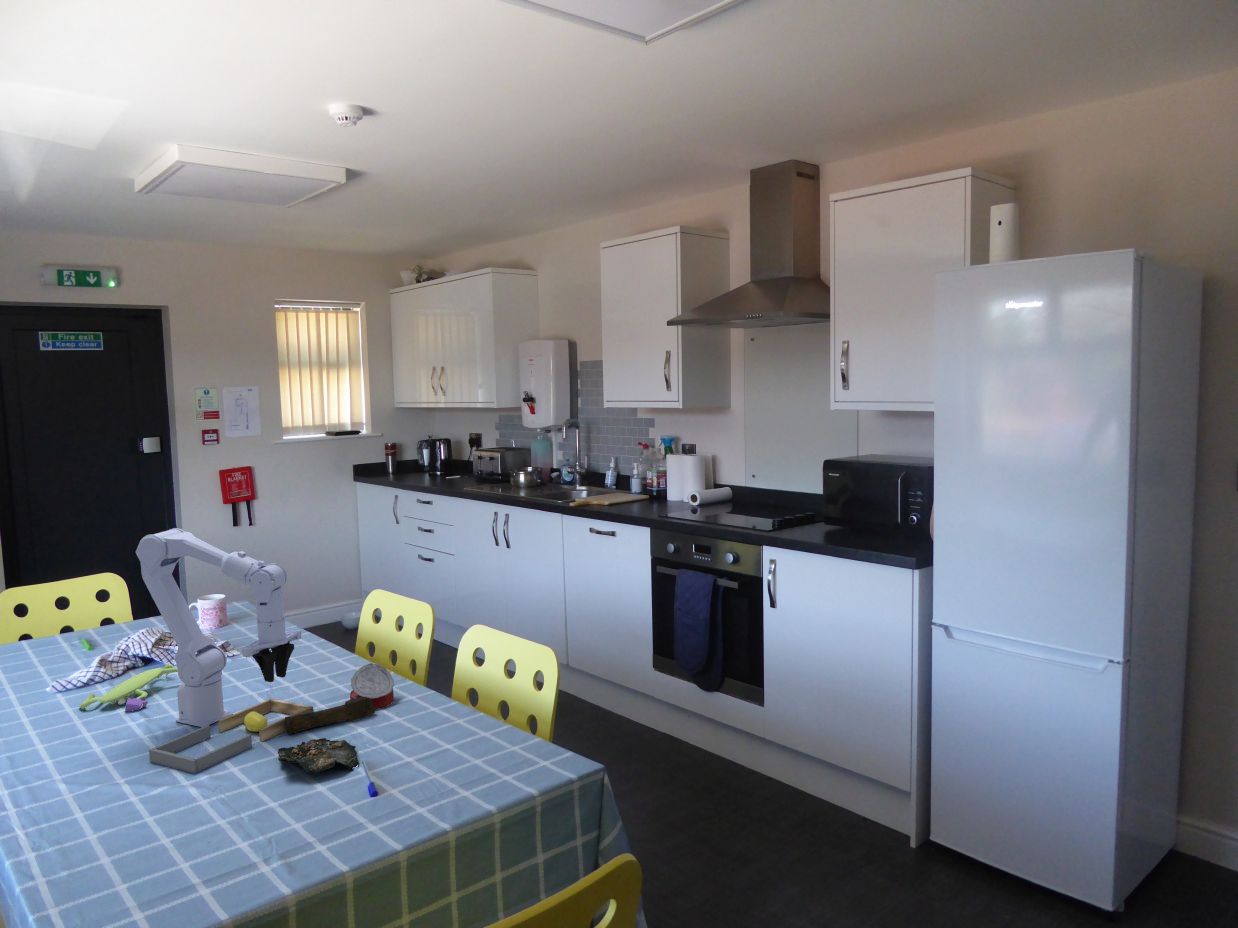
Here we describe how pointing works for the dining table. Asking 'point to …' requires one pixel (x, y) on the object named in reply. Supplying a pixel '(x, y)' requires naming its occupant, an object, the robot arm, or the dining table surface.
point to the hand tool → (331, 715)
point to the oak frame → (262, 709)
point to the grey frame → (168, 758)
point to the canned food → (373, 685)
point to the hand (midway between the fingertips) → (275, 678)
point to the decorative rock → (320, 754)
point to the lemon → (255, 721)
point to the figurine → (131, 690)
